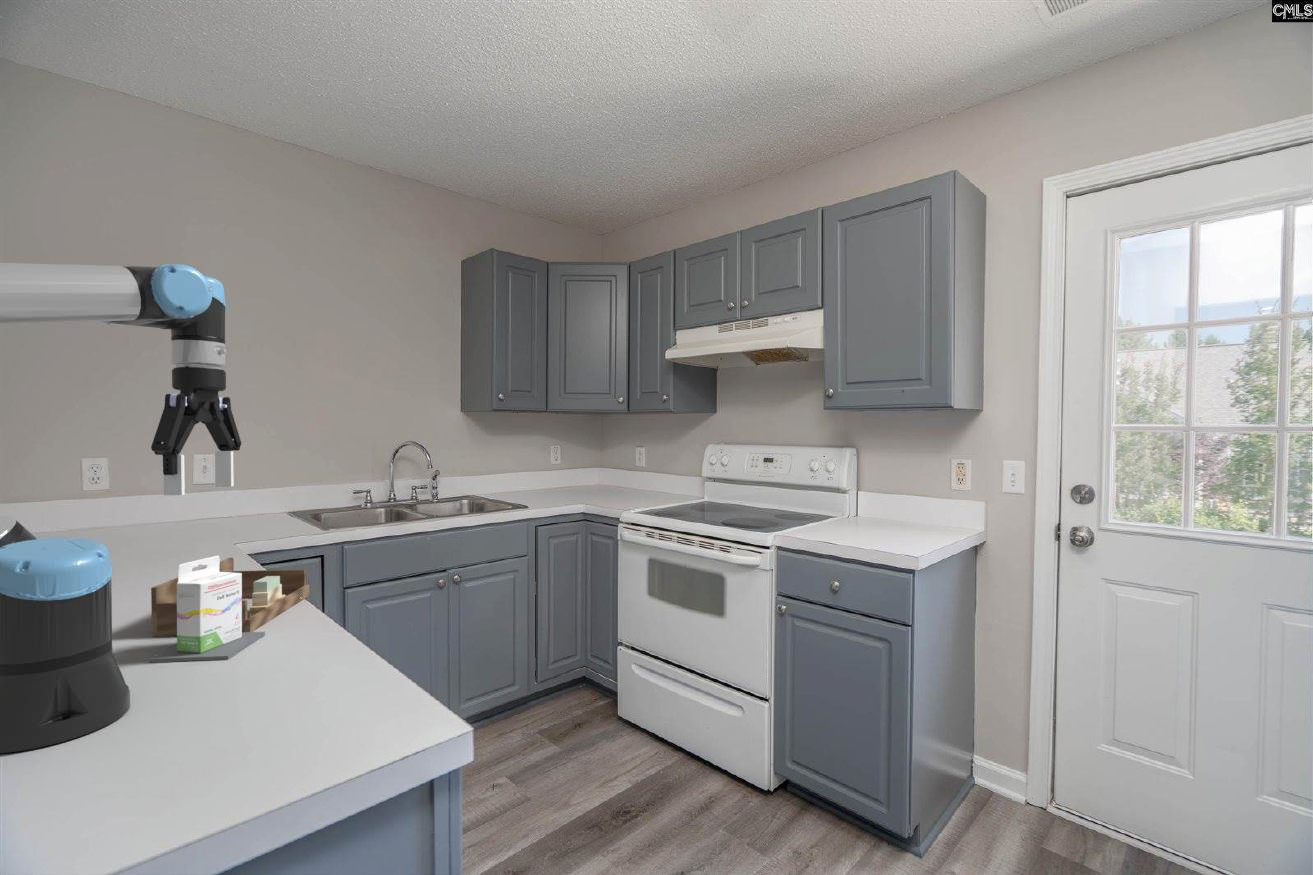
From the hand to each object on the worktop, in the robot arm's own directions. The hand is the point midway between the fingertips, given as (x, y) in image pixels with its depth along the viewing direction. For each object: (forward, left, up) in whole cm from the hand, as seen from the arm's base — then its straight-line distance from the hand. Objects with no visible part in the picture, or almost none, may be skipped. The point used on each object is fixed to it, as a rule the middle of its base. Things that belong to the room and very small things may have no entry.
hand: (201, 490), depth 108 cm
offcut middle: (+19, -1, -25) cm, 31 cm away
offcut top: (+19, -1, -22) cm, 29 cm away
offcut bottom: (+19, -2, -28) cm, 34 cm away
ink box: (0, -1, -27) cm, 27 cm away
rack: (+20, +4, -27) cm, 34 cm away
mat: (0, -1, -27) cm, 27 cm away
